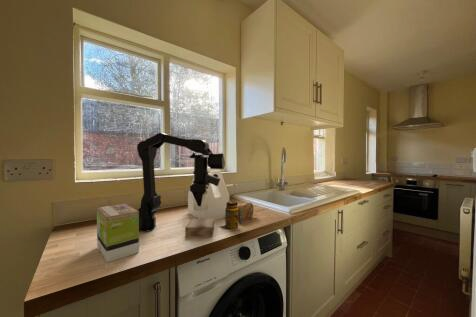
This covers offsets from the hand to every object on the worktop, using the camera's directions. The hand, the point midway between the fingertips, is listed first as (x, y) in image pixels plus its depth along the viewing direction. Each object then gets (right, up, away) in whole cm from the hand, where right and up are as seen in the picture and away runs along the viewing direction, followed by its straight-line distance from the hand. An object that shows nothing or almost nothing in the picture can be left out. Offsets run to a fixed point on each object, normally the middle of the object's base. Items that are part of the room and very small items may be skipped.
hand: (200, 204), depth 90 cm
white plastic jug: (-1, -12, +27) cm, 30 cm away
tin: (+20, -12, +18) cm, 30 cm away
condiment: (+13, -13, +6) cm, 19 cm away
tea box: (-26, -13, -17) cm, 34 cm away
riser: (0, -12, 0) cm, 12 cm away
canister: (0, -2, 0) cm, 2 cm away
